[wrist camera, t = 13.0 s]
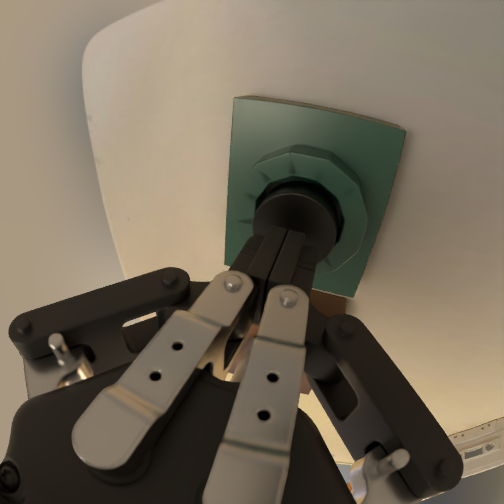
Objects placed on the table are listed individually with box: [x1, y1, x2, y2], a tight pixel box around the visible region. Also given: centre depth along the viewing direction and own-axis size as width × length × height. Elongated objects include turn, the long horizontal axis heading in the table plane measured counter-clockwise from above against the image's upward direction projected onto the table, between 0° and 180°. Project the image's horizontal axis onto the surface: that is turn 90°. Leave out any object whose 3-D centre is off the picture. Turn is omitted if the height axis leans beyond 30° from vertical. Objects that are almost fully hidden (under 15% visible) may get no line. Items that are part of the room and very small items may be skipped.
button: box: [252, 181, 338, 264], centre depth 14 cm, size 4×4×2 cm
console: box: [224, 96, 406, 298], centre depth 16 cm, size 11×9×4 cm
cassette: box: [448, 417, 504, 478], centre depth 24 cm, size 12×2×8 cm, turn 129°
